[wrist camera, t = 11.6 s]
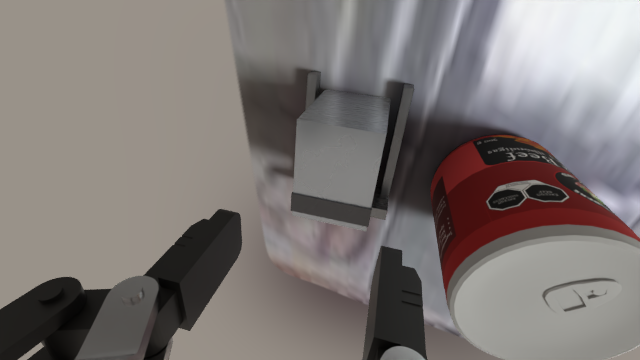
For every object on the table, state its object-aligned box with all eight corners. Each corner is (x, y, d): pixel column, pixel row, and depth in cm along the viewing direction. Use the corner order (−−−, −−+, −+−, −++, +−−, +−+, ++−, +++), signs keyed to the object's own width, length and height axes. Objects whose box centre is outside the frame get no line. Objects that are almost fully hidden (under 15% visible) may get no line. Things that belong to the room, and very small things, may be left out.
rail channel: (312, 70, 21) (299, 79, 18) (413, 84, 20) (415, 95, 17) (304, 181, 25) (293, 200, 23) (386, 197, 24) (385, 219, 22)
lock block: (325, 89, 21) (295, 119, 15) (391, 98, 21) (387, 135, 15) (318, 165, 24) (290, 216, 18) (375, 175, 24) (366, 232, 18)
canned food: (581, 173, 20) (737, 314, 11) (485, 243, 24) (537, 390, 15) (490, 106, 20) (573, 194, 10) (407, 190, 24) (411, 308, 14)
